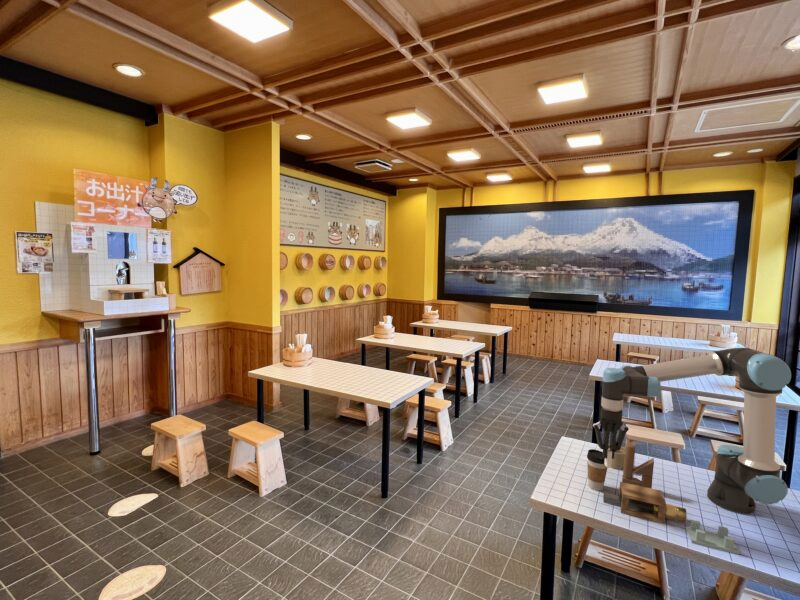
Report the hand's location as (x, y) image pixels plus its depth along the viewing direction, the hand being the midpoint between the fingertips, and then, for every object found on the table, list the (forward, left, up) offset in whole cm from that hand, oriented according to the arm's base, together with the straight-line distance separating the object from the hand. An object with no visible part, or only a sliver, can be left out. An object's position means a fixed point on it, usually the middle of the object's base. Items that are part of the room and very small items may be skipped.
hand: (607, 465), depth 157 cm
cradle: (-32, +9, -15) cm, 37 cm away
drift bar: (-8, -1, -16) cm, 18 cm away
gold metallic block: (-22, 0, -13) cm, 25 cm away
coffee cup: (+3, -11, -15) cm, 19 cm away
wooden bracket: (-13, -18, -16) cm, 27 cm away
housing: (-12, 0, -15) cm, 20 cm away
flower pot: (-7, -35, -16) cm, 39 cm away
